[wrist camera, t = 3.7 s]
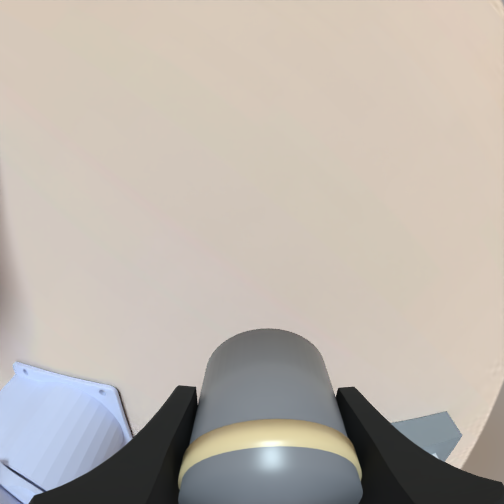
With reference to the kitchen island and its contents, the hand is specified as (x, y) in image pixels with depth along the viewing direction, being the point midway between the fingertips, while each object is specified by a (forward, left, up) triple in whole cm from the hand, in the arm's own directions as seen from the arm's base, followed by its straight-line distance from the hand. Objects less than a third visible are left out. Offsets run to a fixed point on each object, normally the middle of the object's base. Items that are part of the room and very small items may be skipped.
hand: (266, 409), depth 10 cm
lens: (0, 0, -2) cm, 2 cm away
